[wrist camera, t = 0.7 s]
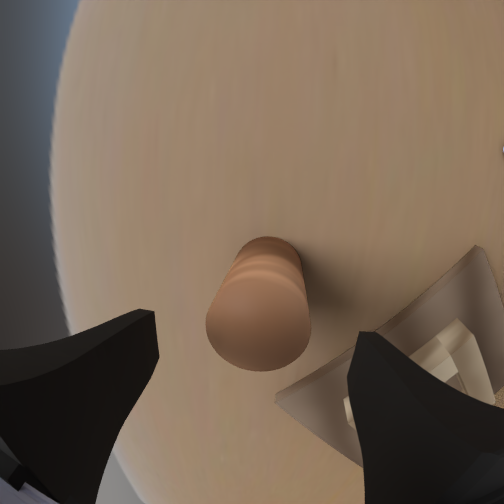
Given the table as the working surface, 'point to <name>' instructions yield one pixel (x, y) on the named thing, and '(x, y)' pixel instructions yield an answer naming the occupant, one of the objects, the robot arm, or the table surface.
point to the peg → (261, 308)
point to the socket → (417, 352)
